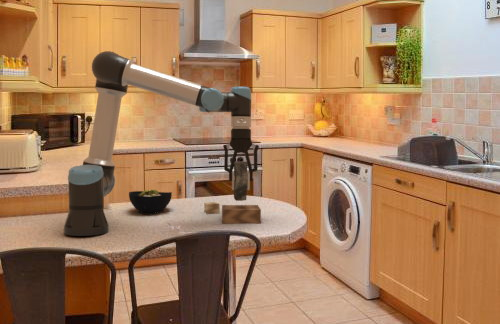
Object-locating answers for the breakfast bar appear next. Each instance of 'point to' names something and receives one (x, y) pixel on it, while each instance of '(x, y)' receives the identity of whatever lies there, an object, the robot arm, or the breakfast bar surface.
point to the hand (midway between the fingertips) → (240, 189)
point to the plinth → (241, 214)
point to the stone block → (240, 180)
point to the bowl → (150, 201)
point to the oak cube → (212, 208)
